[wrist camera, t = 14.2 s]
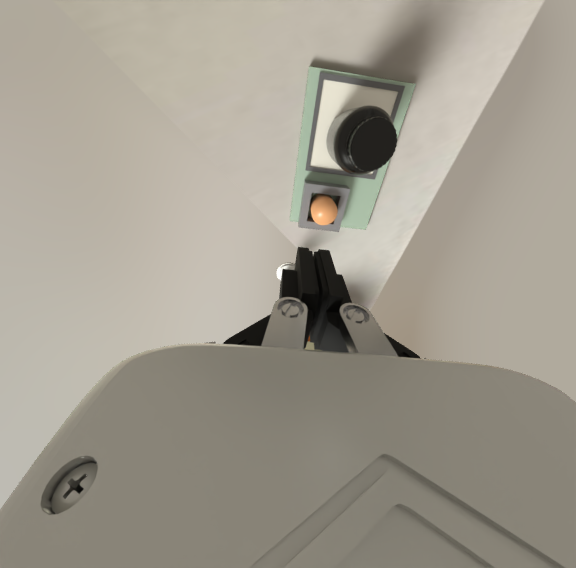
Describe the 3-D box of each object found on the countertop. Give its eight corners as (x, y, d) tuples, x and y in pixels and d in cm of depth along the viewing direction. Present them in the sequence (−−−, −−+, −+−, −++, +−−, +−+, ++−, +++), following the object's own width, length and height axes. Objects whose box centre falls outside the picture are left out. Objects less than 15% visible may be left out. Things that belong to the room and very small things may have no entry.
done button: (312, 191, 36) (314, 198, 33) (335, 194, 36) (340, 201, 33) (307, 215, 38) (309, 223, 35) (330, 217, 39) (334, 226, 35)
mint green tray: (308, 68, 28) (310, 61, 26) (412, 85, 29) (425, 81, 26) (289, 218, 40) (289, 226, 37) (364, 227, 41) (369, 235, 38)
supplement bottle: (363, 96, 29) (400, 83, 20) (379, 148, 33) (417, 158, 23) (316, 129, 31) (329, 132, 22) (336, 174, 35) (354, 194, 25)
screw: (304, 268, 46) (287, 281, 48) (289, 253, 44) (272, 267, 46) (309, 311, 36) (287, 325, 38) (289, 294, 34) (267, 309, 36)
